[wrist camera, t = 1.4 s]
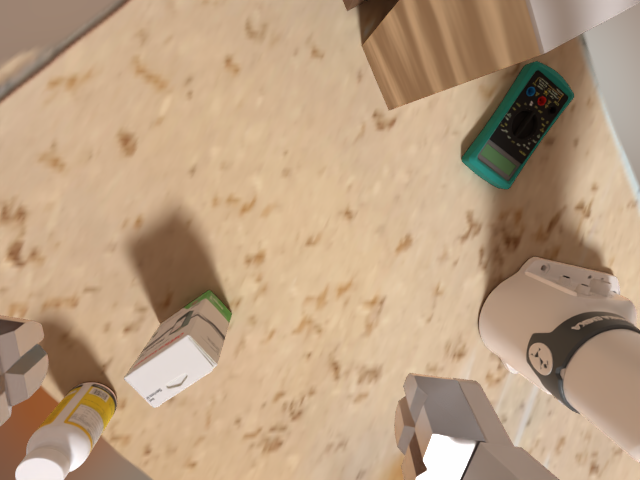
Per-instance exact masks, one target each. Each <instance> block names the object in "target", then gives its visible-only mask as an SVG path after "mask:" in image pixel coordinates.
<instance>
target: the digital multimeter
mask: <svg viewBox="0 0 640 480" xmlns="http://www.w3.org/2000/svg"><path fill="white" fill-rule="evenodd" d="M532 75H533V76H532ZM530 78H531V79H530ZM517 97H518V98H517ZM573 98H574V93H573V92H572V90H571V89H570V87H569V85H568V84H567V83H566V81H565V80H564V79H563V77H562V76H561V75H559V74H558V73H557V72H556V71H555V70H553V69H552V68H550V67H548V66H546V65H544V64H542V63H540V62H538V61H536V62H533V63H530V64H527V65H525V66H524V67H523V69H522V70H521V72H520V73H519V75H518V77H517V78H516V80H515V82H514V83H513V85H512V87H511V88H510V90H509V91H508V93H507V94H506V96H505V97H504V99H503V101H502V102H501V104H500V105H499V107H498V108H497V110H496V111H495V113H494V114H493V116H492V117H491V118H490V120H489V121H488V123H487V124H486V126H485V127H484V129H483V130H482V131H481V133H480V134H479V135H478V137H477V138H476V139H475V141H474V142H473V143H472V145H471V146H470V147H469V149H468V150H467V151H466V153H465V154H464V156H463V157H462V162H463V163H464V164H465V165H466V166H468V167H469V168H470V169H471V170H472V171H473V172H474V173H476V174H477V175H478V176H480V177H481V178H482V179H484V180H485V181H487V182H489V183H490V184H492V185H494V186H495V187H497V188H501V189H509V188H510V187H511V185H512V184H513V182H514V181H515V179H516V178H517V176H518V174H519V173H520V171H521V170H522V168H523V167H524V165H525V164H526V162H527V160H528V159H529V158H530V156H531V155H532V153H533V152H534V150H535V149H536V147H537V146H538V144H539V143H540V142H541V140H542V139H543V137H544V136H545V135H546V133H547V132H548V131H549V129H550V128H551V127H552V125H553V124H554V123H555V121H556V120H557V119H558V117H559V116H560V115H561V113H562V112H563V111H564V110H565V108H566V107H567V106H568V105H569V103H570V102H571V101H572V99H573ZM526 108H527V109H526ZM508 110H509V111H508ZM506 113H507V114H506ZM495 129H496V130H495ZM493 132H494V133H493Z"/></svg>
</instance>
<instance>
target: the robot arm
mask: <svg viewBox="0 0 640 480" xmlns="http://www.w3.org/2000/svg"><path fill="white" fill-rule="evenodd" d="M542 266H543V267H542ZM541 267H542V269H541ZM636 324H637V312H636V308H635V306H634V304H633V302H632V301H631V300H629V299H628V298H626V297H623V296H621V295H620V286H619V282H618V279H617V278H616V277H615V276H613V275H611V274H609V273H604V272H600V271H596V270H592V269H587V268H583V267H578V266H574V265H570V264H565V263H561V262H557V261H552V260H548V259H543V258H539V257H532V258H530V259H529V260H528V261H527V262H526V263H525V264H524V265H523V266H522V267H521V268H520V270H519V271H518V272H517V273H516V274H514V275H513V276H511V277H509V278H508V279H506V280H505V281H503V282H502V283H500V284H499V285H498V286H497V287H496V288H495V289H494V290H493V291H492V292H491V294H490V295H489V296H488V298H487V299H486V301H485V303H484V305H483V307H482V310H481V313H480V318H479V331H480V335H481V338H482V340H483V342H484V344H485V345H486V347H487V348H488V349H489V350H490V351H491V352H493V353H494V354H496V355H497V356H499V357H500V358H501V360H502V362H503V364H504V366H505V368H506V369H507V370H509V371H510V372H511V373H513V374H517V373H520V374H521V375H522V376H524V377H525V378H526V379H528V380H529V381H530V382H532V383H533V384H535V385H536V386H537V387H539V388H540V389H541V390H543V391H544V392H546V393H548V394H552V395H553V396H554V398H556V399H557V400H558V401H559V402H560V403H562V404H563V405H565V406H567V407H568V408H569V409H571V410H572V411H574V412H576V413H579V414H581V415H583V416H584V417H585V418H586V419H587V420H588V421H590V422H591V423H592V424H593V425H594V426H595V427H597V428H598V429H599V430H600V431H601V432H602V433H604V434H605V435H606V436H607V437H608V438H609V439H610V440H612V441H613V442H614V443H615V444H616V445H617V446H619V447H620V448H621V449H622V450H623V451H624V452H626V453H627V454H628V455H629V456H630V457H631V458H633V459H634V460H636V461H637V462H639V463H640V330H639V329H638V328H637V327H636ZM43 338H44V333H43V328H42V324H40V323H38V322H36V321H33V320H26V319H20V318H14V317H8V316H2V315H0V426H1V425H2V424H3V423H4V422H5V421H6V420H7V419H8V418H9V417H10V415H11V409H12V406H14V405H16V404H18V403H20V402H22V401H24V400H26V399H28V398H29V397H30V396H31V395H32V394H33V393H34V392H35V391H36V390H37V389H38V388H39V387H40V385H41V383H42V382H43V380H44V378H45V376H46V374H47V370H48V364H49V361H48V355H47V353H46V352H45V350H44V349H43V348H42V347H41V346H40V345H39V343H40V342H41V341H42V340H43ZM403 387H404V391H405V395H406V396H405V397H404V398H402V399H401V400H399V401H398V405H397V409H396V412H395V424H394V426H395V437H396V443H397V447H398V448H399V449H400V450H401V452H402V453H403V454H404V455H405V457H404V460H403V463H402V466H401V468H402V472H403V477H404V480H559V479H558V478H557V477H556V476H555V475H553V474H552V473H551V472H550V471H549V470H548V469H546V468H545V467H544V466H543V465H542V464H540V463H539V462H538V461H537V460H536V459H534V458H533V457H532V456H531V455H530V454H529V453H527V452H526V451H525V450H524V449H523V448H520V447H514V445H513V443H512V441H511V440H510V438H509V436H508V434H507V432H506V431H505V429H504V427H503V425H502V423H501V421H500V420H499V418H498V416H497V414H496V412H495V411H494V409H493V407H492V405H491V403H490V402H489V400H488V398H487V396H486V394H485V392H484V391H483V389H482V387H481V385H480V384H479V383H478V382H476V381H473V380H464V379H456V378H453V379H451V378H444V377H437V376H429V375H422V374H414V373H409V374H408V376H407V377H406V380H405V383H404V386H403Z"/></svg>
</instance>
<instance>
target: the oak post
mask: <svg viewBox="0 0 640 480" xmlns="http://www.w3.org/2000/svg"><path fill="white" fill-rule="evenodd" d="M639 3H640V0H399V1H398V2H397V3H396V5H395V6H394V7H393V8H392V10H391V11H390V12H389V13H388V14H387V16H386V17H385V18H384V19H383V21H382V22H381V23H380V24H379V26H378V27H377V28H376V29H375V30H374V32H373V33H372V34H371V35H370V37H369V38H368V39H367V40H366V41H365V43H364V44H363V45H362V47H363V50H364V52H365V55H366V57H367V59H368V62H369V64H370V67H371V69H372V71H373V74H374V76H375V78H376V81H377V83H378V86H379V88H380V90H381V93H382V95H383V98H384V100H385V102H386V105H387V107H388V109H389V110H391V109H394V108H397V107H399V106H402V105H405V104H408V103H410V102H413V101H416V100H419V99H421V98H424V97H427V96H430V95H432V94H435V93H438V92H441V91H443V90H446V89H449V88H452V87H454V86H457V85H460V84H463V83H465V82H468V81H471V80H474V79H476V78H479V77H482V76H484V75H487V74H490V73H493V72H495V71H498V70H501V69H504V68H506V67H509V66H512V65H515V64H517V63H520V62H523V61H526V60H528V59H531V58H534V57H537V56H539V55H542V54H545V53H547V52H549V51H550V50H552V49H554V48H556V47H558V46H560V45H562V44H564V43H565V42H567V41H569V40H571V39H573V38H575V37H577V36H579V35H580V34H582V33H584V32H586V31H588V30H590V29H592V28H594V27H595V26H597V25H599V24H601V23H603V22H605V21H607V20H609V19H611V18H612V17H614V16H616V15H618V14H620V13H622V12H624V11H626V10H627V9H629V8H631V7H633V6H635V5H637V4H639Z"/></svg>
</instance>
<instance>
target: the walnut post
mask: <svg viewBox="0 0 640 480" xmlns="http://www.w3.org/2000/svg"><path fill="white" fill-rule="evenodd" d="M365 1H367V0H343V2H344V4H345V7H346V9H347V11H348V10H350V9H352V8H354V7H356V6H357V5H359V4H361V3H363V2H365Z"/></svg>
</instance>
